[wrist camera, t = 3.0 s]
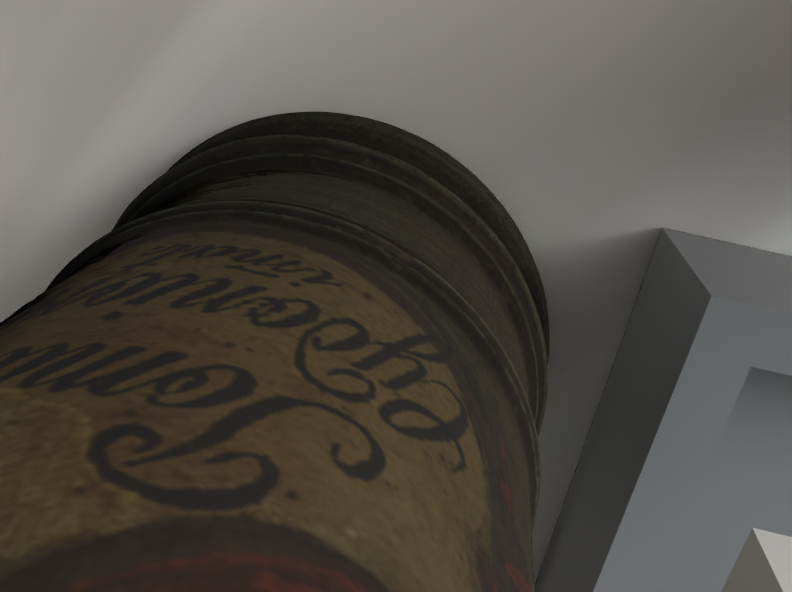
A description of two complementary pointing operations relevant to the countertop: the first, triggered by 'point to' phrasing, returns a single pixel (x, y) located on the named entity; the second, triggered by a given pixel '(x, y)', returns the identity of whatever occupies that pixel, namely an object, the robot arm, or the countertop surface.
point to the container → (282, 379)
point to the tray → (685, 428)
